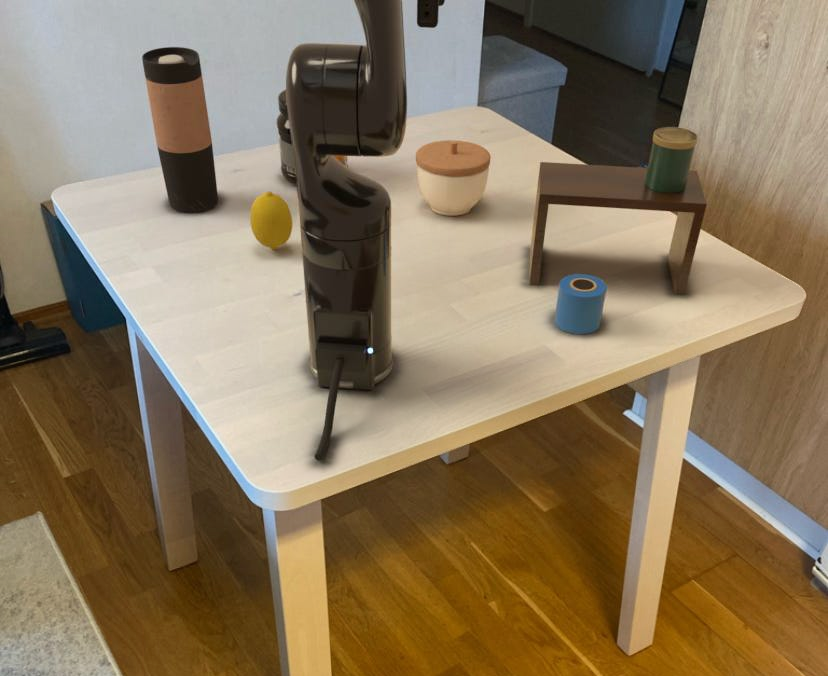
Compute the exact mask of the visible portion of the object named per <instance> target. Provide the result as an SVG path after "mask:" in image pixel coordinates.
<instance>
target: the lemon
mask: <svg viewBox="0 0 828 676" xmlns="http://www.w3.org/2000/svg"><path fill="white" fill-rule="evenodd" d="M250 227H251V231H252V234H253V235H254V237H255V239H256V240H257V242H258V243H259V244H261V245H262V246H264V247H266V248H269V249H271V250H272V251H277V249H278V248H279V247H282V246H283V245H285V244H286V243H287V242H288V241H289V239H290V237H291V235H292V232H293V231H292V230H293V216H292V213H291V210H290V207H289V205H288V203H287V201H286V200H285V199H284V198H283V197H282V196H280V195H279V194H276V193H273V192H272V191H266V192H265V193H263V194H261V195H259V196H258V197H257V198H256V199H255V200H254V201H253V203H252V206H251V210H250Z"/></svg>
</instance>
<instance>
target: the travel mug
mask: <svg viewBox="0 0 828 676" xmlns="http://www.w3.org/2000/svg"><path fill="white" fill-rule="evenodd" d="M141 57H142V58H141V60H142V66H143V72H144V78H145V84H146V91H147V95H148V101H149V108H150V112H151V113H150V114H151V118H152V125H153V131H154V137H155V142H156V146H157V152H158V157H159V161H160V162H159V163H160V166H161V170H162V175H163V180H164V184H165V189H166V194H167V199H168V203H169V206H170V208H171V209H173V210H174V211H176V212H179V213H185V214H186V213H187V214H195V213H202V212H206V211H209V210H211V209H214V208H215V207H216V206H217V205H218V203H219V196H218V185H217V176H216V166H215V157H214V149H213V148H214V147H213V140H212V133H211V126H210V119H209V111H208V106H207V101H206V100H207V99H206V92H205V86H204V79H203V73H202V72H203V71H202V66H201V60H200V59H201V58H200V54H199V52H198V51H196V50H195V49H193V48H188V47H182V46H181V47H180V46H167V47H166V46H165V47H159V48H154V49H151V50H148V51H146V52H144V53H143V54H142V56H141Z"/></svg>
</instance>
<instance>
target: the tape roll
mask: <svg viewBox="0 0 828 676" xmlns="http://www.w3.org/2000/svg"><path fill="white" fill-rule="evenodd" d="M558 284H559V285H558V292H557V299H556V305H555V306H556V307H555V312H554V319H553V320H554V324H555V326H556V327H557V328H559V330H561V331H563V332H566V333H569V334H573V335H588V334H592V333H594V332H596V331H598V329H599V328H600V327H601V322H602V316H603V311H604V305H605V300H606V294H607V290H608V288H607V287H608V286H607V284H606V282H605V281H604V280H602V279H601V278H599V277H598V276H594V275H590V274H584V273H575V274H573V273H572V274H569V275H566V276H564V277H563V278H561V279H560V281H559V283H558Z"/></svg>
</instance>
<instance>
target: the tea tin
mask: <svg viewBox="0 0 828 676" xmlns="http://www.w3.org/2000/svg"><path fill="white" fill-rule="evenodd" d="M698 139H699V136H698V134H697V133H695V132H694V131H692V130H690V129H688V128H685V127H679V126H678V127H677V126H663V127H660V128H657V129H655V130H654V132H653V135H652V145H651V150H650V155H649V159H648V164H647V168H648V169H647V174H646V179H645V184H646V186H647V187H648V188H650V189H652V190H655V191H658V192H663V193H676V192H680V191H683V190H684V189H685V188H686V184H687V180H688V175H689V171H691V166H692V162H693V157H694V153H695V149H696V146H697V144H698Z"/></svg>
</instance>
